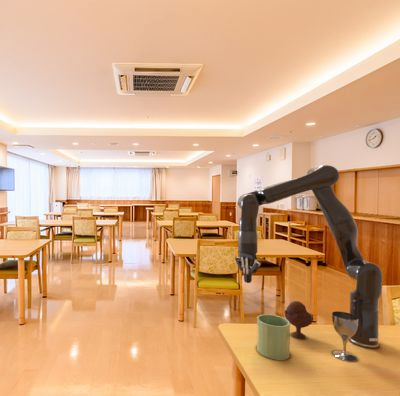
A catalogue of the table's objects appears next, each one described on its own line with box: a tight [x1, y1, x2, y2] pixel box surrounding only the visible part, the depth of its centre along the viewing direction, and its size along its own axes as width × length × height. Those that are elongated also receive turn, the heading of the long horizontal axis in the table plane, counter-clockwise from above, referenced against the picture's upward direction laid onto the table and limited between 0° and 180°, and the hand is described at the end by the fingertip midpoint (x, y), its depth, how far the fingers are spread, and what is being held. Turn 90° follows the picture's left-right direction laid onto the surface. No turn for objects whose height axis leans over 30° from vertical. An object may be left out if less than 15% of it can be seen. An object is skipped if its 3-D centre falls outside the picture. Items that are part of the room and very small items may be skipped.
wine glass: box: [331, 310, 358, 362], centre depth 107 cm, size 8×8×15 cm
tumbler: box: [256, 313, 291, 361], centre depth 110 cm, size 11×11×12 cm
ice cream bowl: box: [283, 300, 314, 340], centre depth 122 cm, size 11×11×15 cm
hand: (247, 282), depth 121 cm, fingers closed
